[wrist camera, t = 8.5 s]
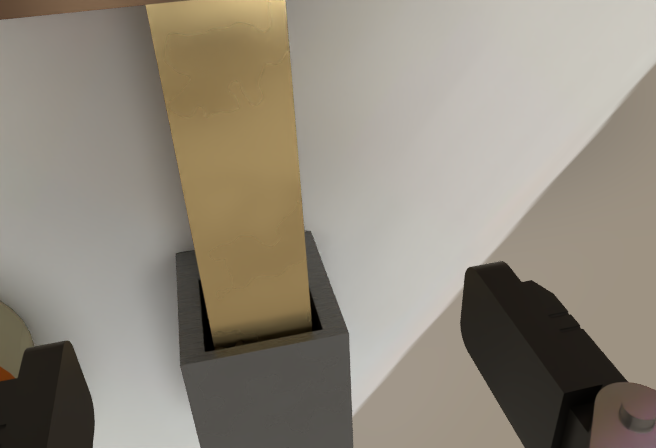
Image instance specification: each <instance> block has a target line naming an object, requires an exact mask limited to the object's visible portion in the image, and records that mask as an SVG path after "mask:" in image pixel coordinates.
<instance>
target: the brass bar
mask: <svg viewBox="0 0 656 448" xmlns="http://www.w3.org/2000/svg"><path fill="white" fill-rule="evenodd" d="M146 10H147V15H148V20H149V25H150V30H151V35H152V40H153V45H154V50H155V55H156V60H157V65H158V70H159V75H160V80H161V84H162V89H163V94H164V99H165V104H166V109H167V114H168V119H169V124H170V129H171V134H172V139H173V144H174V149H175V154H176V159H177V164H178V169H179V174H180V179H181V184H182V189H183V194H184V199H185V204H186V209H187V214H188V219H189V224H190V229H191V234H192V239H193V244H194V249H195V254H196V259H197V264H198V269H199V273H200V278H201V283H202V288H203V293H204V298H205V303H206V308H207V313H208V318H209V323H210V328H211V333H212V338H213V343H214V348H215V350H220V349H225V348H230V347H235V346H241V345H246V344H251V343H256V342H261V341H266V340H272V339H277V338H282V337H287V336H292V335H298V334H303V333H308V332H312V320H311V308H310V296H309V283H308V271H307V259H306V247H305V234H304V222H303V210H302V198H301V185H300V173H299V161H298V149H297V137H296V124H295V112H294V100H293V88H292V75H291V63H290V51H289V39H288V26H287V14H286V2H285V0H188V1H178V2H168V3H159V4H149V5H146Z"/></svg>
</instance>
